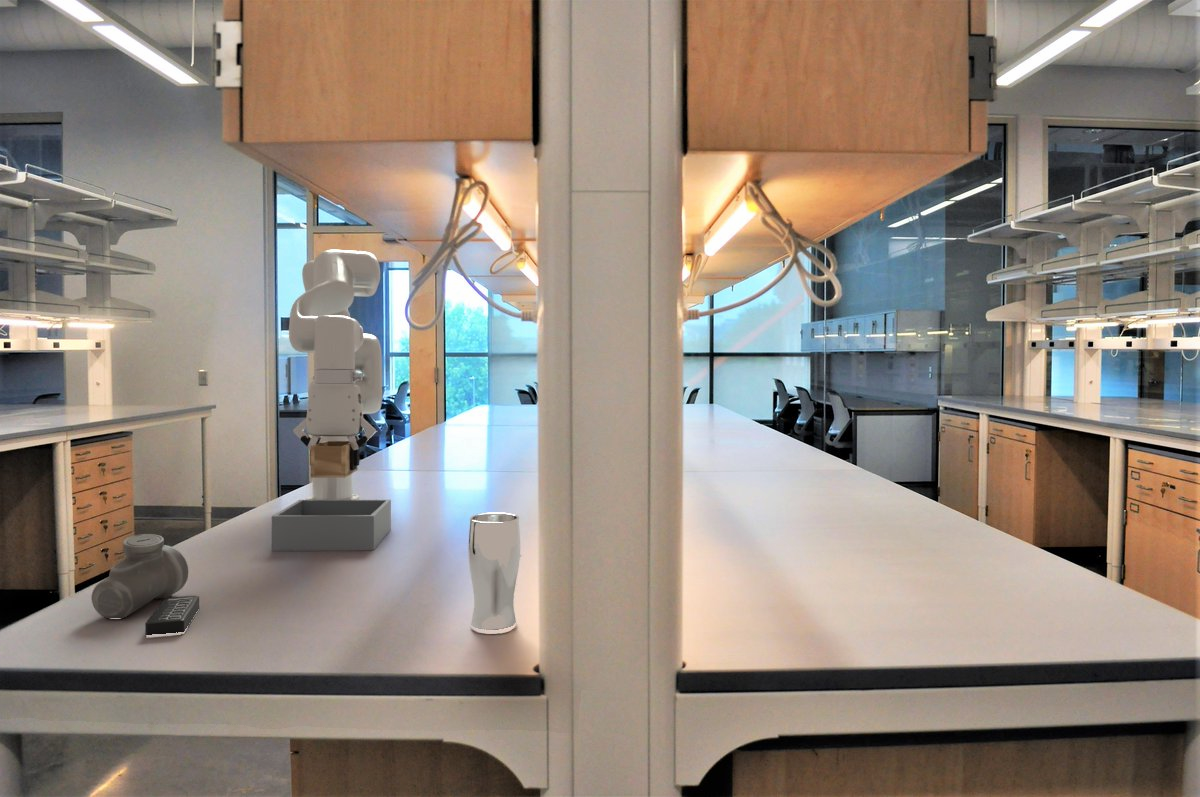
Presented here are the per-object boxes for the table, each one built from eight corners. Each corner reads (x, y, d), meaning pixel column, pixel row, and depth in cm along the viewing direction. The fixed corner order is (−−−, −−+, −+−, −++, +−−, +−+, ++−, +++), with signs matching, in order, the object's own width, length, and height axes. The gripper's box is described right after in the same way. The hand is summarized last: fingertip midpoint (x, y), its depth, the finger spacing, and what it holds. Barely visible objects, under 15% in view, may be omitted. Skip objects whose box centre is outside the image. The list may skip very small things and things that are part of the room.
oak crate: (325, 470, 151) (325, 440, 151) (357, 470, 152) (357, 440, 151) (310, 477, 141) (310, 446, 141) (345, 477, 142) (345, 446, 141)
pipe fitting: (140, 589, 112) (139, 525, 111) (190, 596, 112) (190, 531, 110) (78, 626, 101) (76, 555, 99) (135, 633, 100) (133, 562, 98)
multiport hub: (144, 641, 94) (144, 623, 94) (165, 613, 105) (164, 597, 104) (183, 637, 96) (183, 620, 96) (200, 610, 106) (199, 594, 106)
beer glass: (515, 637, 97) (517, 523, 96) (462, 635, 97) (463, 522, 96) (522, 618, 104) (523, 512, 103) (473, 617, 104) (473, 511, 103)
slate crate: (299, 530, 154) (299, 499, 154) (390, 530, 156) (390, 499, 156) (271, 550, 138) (271, 516, 138) (373, 550, 140) (373, 516, 139)
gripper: (383, 378, 150) (383, 466, 151) (295, 377, 148) (295, 466, 149) (375, 379, 142) (375, 472, 143) (282, 378, 141) (283, 472, 142)
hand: (334, 468), depth 146 cm, fingers closed on oak crate, 6 cm apart
